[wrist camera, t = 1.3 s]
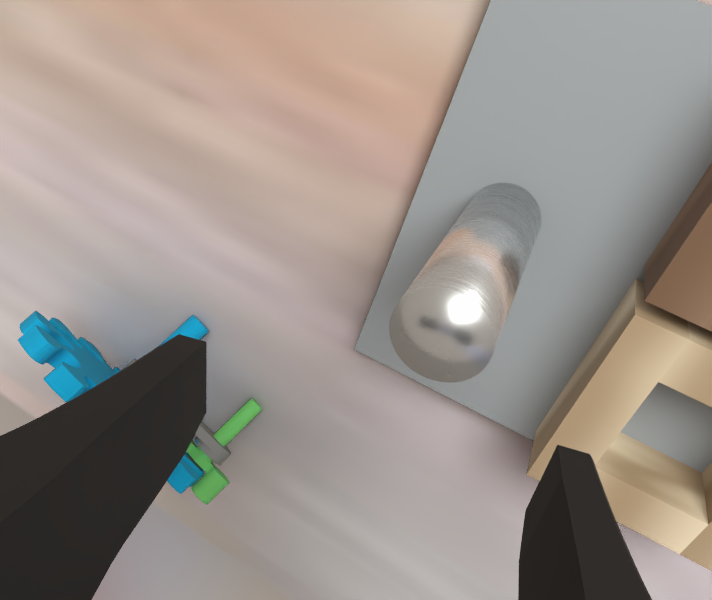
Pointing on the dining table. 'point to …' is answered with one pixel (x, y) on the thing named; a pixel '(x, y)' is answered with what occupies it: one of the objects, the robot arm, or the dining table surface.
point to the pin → (467, 287)
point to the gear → (88, 368)
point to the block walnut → (685, 261)
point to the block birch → (616, 407)
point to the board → (568, 191)
